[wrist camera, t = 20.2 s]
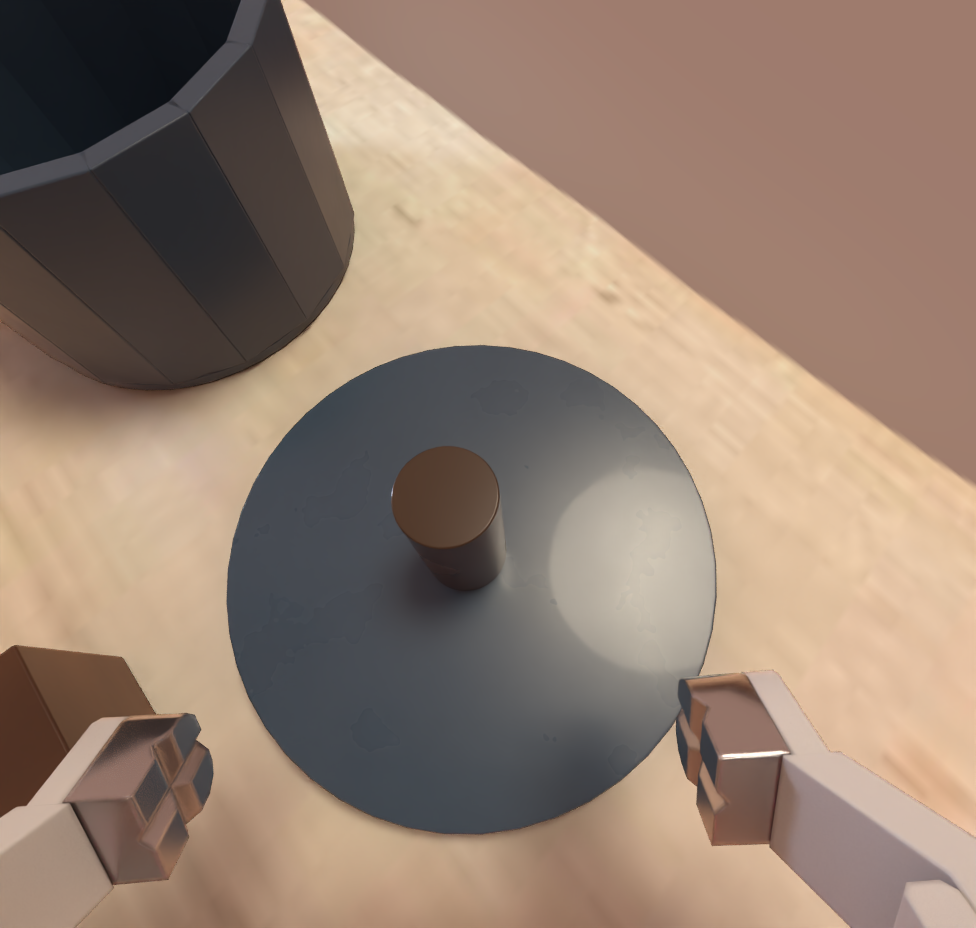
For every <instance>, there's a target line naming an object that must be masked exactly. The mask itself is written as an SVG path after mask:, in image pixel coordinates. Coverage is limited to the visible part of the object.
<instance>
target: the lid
mask: <svg viewBox="0 0 976 928" xmlns="http://www.w3.org/2000/svg"><path fill="white" fill-rule="evenodd" d="M716 597H717V593H716V560H715V554H714V547H713V540H712V534H711V530H710V526H709V523H708V519H707V516H706V512H705V509H704V505H703V502H702V500H701V497H700V495H699V493H698V490H697V488H696V486H695V484H694V481H693V479H692V477H691V475H690V473H689V471H688V469H687V468H686V466H685V464H684V463H683V461H682V459H681V458H680V456H679V454H678V453H677V451H676V449H675V448H674V446H673V445H672V444H671V443H670V441H669V440H668V439H667V437H666V436H665V435H664V434H663V432H662V431H661V430H660V429H659V427H658V426H657V425H656V424H655V423H654V422H653V421H652V420H651V419H650V418H649V417H648V416H647V415H646V414H645V413H644V412H643V411H642V410H641V409H640V408H639V407H638V406H637V405H636V404H635V403H634V402H632V401H631V400H630V399H628V398H627V397H626V396H625V395H623V394H622V393H621V392H619V391H618V390H617V389H616V388H614V387H613V386H611V385H610V384H608V383H606V382H605V381H603V380H601V379H599V378H598V377H596V376H594V375H593V374H591V373H589V372H587V371H585V370H583V369H581V368H578V367H576V366H574V365H572V364H569V363H567V362H565V361H562V360H559V359H556V358H553V357H550V356H547V355H543V354H540V353H537V352H532V351H527V350H521V349H516V348H511V347H499V346H486V345H476V346H453V347H447V348H440V349H433V350H427V351H423V352H419V353H416V354H412V355H408V356H404V357H401V358H398V359H396V360H393V361H390V362H388V363H385V364H383V365H380V366H377V367H375V368H373V369H371V370H369V371H367V372H365V373H363V374H361V375H360V376H358V377H356V378H354V379H352V380H350V381H349V382H347V383H346V384H344V385H343V386H341V387H340V388H338V389H337V390H335V391H334V392H332V393H331V394H329V395H328V396H326V397H325V398H324V399H323V400H322V401H320V402H319V403H318V404H317V405H316V406H315V407H313V408H312V409H311V410H310V411H309V412H307V413H306V414H305V415H304V416H303V417H302V418H301V419H300V421H299V422H298V423H297V424H296V425H295V426H294V427H293V428H292V429H291V430H290V431H289V432H288V433H287V434H286V435H285V437H284V438H283V439H282V441H281V442H280V443H279V445H278V446H277V447H276V449H275V450H274V451H273V453H272V454H271V455H270V457H269V458H268V460H267V461H266V463H265V465H264V467H263V468H262V470H261V472H260V473H259V475H258V477H257V478H256V480H255V482H254V484H253V486H252V488H251V491H250V493H249V495H248V498H247V500H246V502H245V504H244V507H243V509H242V512H241V515H240V518H239V522H238V525H237V528H236V532H235V535H234V538H233V543H232V549H231V555H230V561H229V567H228V579H227V612H228V623H229V634H230V638H231V643H232V647H233V651H234V656H235V660H236V664H237V668H238V670H239V673H240V676H241V678H242V681H243V684H244V686H245V689H246V691H247V694H248V697H249V699H250V700H251V702H252V704H253V706H254V708H255V710H256V711H257V713H258V715H259V717H260V719H261V720H262V722H263V724H264V726H265V727H266V729H267V730H268V731H269V733H270V734H271V735H272V737H273V738H274V739H275V741H276V742H277V743H278V745H279V746H280V747H281V749H282V750H283V751H284V753H285V754H286V755H287V756H288V757H289V758H290V759H291V760H292V761H293V762H294V763H295V764H296V765H297V766H298V767H299V768H300V769H301V770H302V771H303V772H304V773H305V774H306V775H308V776H309V777H310V778H311V779H312V780H313V781H315V782H316V783H317V784H319V785H320V786H322V787H323V788H324V789H326V790H327V791H328V792H330V793H331V794H333V795H334V796H335V797H337V798H338V799H340V800H341V801H343V802H345V803H347V804H349V805H351V806H353V807H355V808H357V809H359V810H361V811H363V812H365V813H367V814H369V815H371V816H373V817H376V818H379V819H382V820H385V821H388V822H391V823H394V824H397V825H400V826H403V827H406V828H411V829H417V830H423V831H429V832H435V833H441V834H488V833H495V832H502V831H509V830H516V829H521V828H524V827H528V826H531V825H534V824H538V823H541V822H544V821H548V820H551V819H554V818H557V817H559V816H561V815H563V814H565V813H567V812H569V811H571V810H574V809H576V808H578V807H580V806H582V805H584V804H586V803H588V802H590V801H592V800H593V799H595V798H596V797H598V796H599V795H600V794H602V793H603V792H605V791H606V790H608V789H609V788H611V787H612V786H614V785H615V784H617V783H618V782H620V781H621V780H622V779H623V778H624V777H625V776H627V775H628V774H629V773H630V772H631V771H632V770H633V769H634V768H635V767H636V766H638V765H639V764H640V763H641V762H642V761H643V760H644V759H645V758H646V757H647V756H648V755H649V754H650V753H651V752H652V750H653V749H654V748H655V747H656V746H657V744H658V743H659V742H660V741H661V739H662V738H663V737H664V736H665V735H666V733H667V732H668V731H669V730H670V728H671V727H672V725H673V724H674V722H675V720H676V716H677V715H678V714H679V713H680V712H681V710H682V707H681V704H680V702H679V699H678V697H677V692H678V683H679V680H680V678H681V677H693V676H699V674H700V671H701V669H702V667H703V664H704V661H705V657H706V653H707V649H708V645H709V642H710V638H711V634H712V630H713V622H714V614H715V606H716Z"/></svg>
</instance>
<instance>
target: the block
mask: <svg viewBox="0 0 976 928" xmlns="http://www.w3.org/2000/svg"><path fill="white" fill-rule="evenodd" d="M135 715H156V714H155V713H154V711H153V709H152V708H151V706H150V704H149V702H148V701H147V699H146V697H145V696H144V694H143V692H142V690H141V689H140V687H139V685H138V683H137V682H136V680H135V678H134V677H133V675H132V673H131V671H130V670H129V668H128V666H127V665H126V663H125V661H124V659H123V658H122V657H117V656H108V655H99V654H90V653H81V652H73V651H64V650H55V649H46V648H37V647H28V646H19V645H14V646H12V647H10V648H9V649H8V650H6V651H5V652H4V653H2V654H1V655H0V818H1V817H2V816H4V815H5V814H7V813H8V812H10V811H11V810H13V809H14V808H16V807H20V806H27V805H28V803H29V802H30V801H31V799H32V798H33V797H34V796H35V794H36V793H37V792H38V791H39V789H40V788H41V787H42V786H43V784H44V783H45V782H46V781H47V779H48V778H49V777H50V776H51V774H52V773H53V772H54V770H55V769H56V768H57V767H58V765H59V764H60V763H61V762H62V760H63V759H64V758H65V757H66V755H67V754H68V753H69V752H70V750H71V749H72V748H73V747H74V745H75V744H76V743H77V741H78V740H79V739H80V738H81V736H82V735H83V734H84V733H85V731H86V730H87V729H88V728H89V726H90V725H91V724H92V723H94V722H95V721H97V720H99V719H101V718H104V717H129V716H135Z"/></svg>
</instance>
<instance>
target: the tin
mask: <svg viewBox="0 0 976 928" xmlns="http://www.w3.org/2000/svg"><path fill="white" fill-rule="evenodd" d="M353 239H354V211H353V208H352V205H351V202H350V199H349V196H348V193H347V190H346V187H345V184H344V181H343V178H342V175H341V172H340V170H339V167H338V164H337V161H336V158H335V155H334V152H333V149H332V147H331V144H330V141H329V138H328V135H327V132H326V129H325V126H324V124H323V121H322V118H321V115H320V112H319V109H318V106H317V104H316V101H315V98H314V95H313V92H312V89H311V86H310V83H309V81H308V78H307V75H306V72H305V69H304V66H303V63H302V60H301V58H300V55H299V52H298V49H297V46H296V43H295V40H294V37H293V35H292V32H291V29H290V26H289V23H288V20H287V17H286V15H285V12H284V9H283V6H282V3H281V0H0V321H2V322H3V323H4V324H6V325H7V326H8V327H10V328H11V329H13V330H14V331H15V332H17V333H18V334H19V335H21V336H22V337H24V338H25V339H26V340H28V341H29V342H30V343H32V344H33V345H35V346H36V347H37V348H39V349H40V350H41V351H43V352H44V353H46V354H47V355H48V356H50V357H51V358H53V359H55V360H57V361H59V362H62V363H64V364H66V365H67V366H69V367H70V368H72V369H74V370H76V371H77V372H79V373H81V374H82V375H84V376H86V377H89V378H91V379H94V380H97V381H99V382H102V383H105V384H109V385H113V386H118V387H122V388H129V389H140V390H168V389H177V388H184V387H190V386H196V385H200V384H203V383H207V382H211V381H215V380H218V379H221V378H224V377H226V376H229V375H232V374H234V373H237V372H240V371H242V370H244V369H246V368H248V367H250V366H252V365H254V364H256V363H258V362H260V361H262V360H264V359H265V358H267V357H268V356H270V355H271V354H273V353H275V352H276V351H278V350H279V349H281V348H282V347H284V346H285V345H286V344H287V343H289V342H290V341H291V340H292V339H294V338H295V337H296V336H297V335H299V334H300V333H301V332H302V331H303V330H304V329H305V328H306V327H307V326H308V325H309V324H310V323H311V322H312V321H313V320H314V319H315V318H316V317H317V316H318V315H319V313H320V312H321V311H322V310H323V308H324V307H325V306H326V305H327V303H328V302H329V301H330V299H331V297H332V296H333V294H334V293H335V291H336V289H337V288H338V286H339V284H340V282H341V280H342V278H343V275H344V273H345V271H346V269H347V266H348V263H349V259H350V256H351V252H352V248H353Z"/></svg>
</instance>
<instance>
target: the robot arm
mask: <svg viewBox="0 0 976 928" xmlns="http://www.w3.org/2000/svg"><path fill="white" fill-rule="evenodd" d="M677 697H678V699H679V702H680V704H681V707H682V709H683V710H682V711H681V712H680V713H679V714H678V715H677V716H676V736H677V743H678V751H679V754H680V758H681V762H682V765H683V768H684V771H685V774H686V777H687V779H688V780H690V781H691V782H692V783H693V784H694V785H696V786H697V803H696V805H697V807H698V810H699V813H700V815H701V818H702V821H703V824H704V826H705V829H706V832H707V834H708V837H709V840H710V842H711V845H712V846H723V845H753V844H770V848H771V849H772V850H773V851H774V852H775V853H776V854H777V855H778V856H779V857H780V858H781V859H782V860H783V861H784V862H785V863H786V864H787V865H788V866H789V867H790V868H791V869H792V870H793V871H794V872H795V873H796V874H797V875H798V876H799V877H800V878H801V879H802V880H803V881H804V882H805V883H806V884H807V885H808V886H809V887H810V888H811V889H812V890H813V891H814V892H815V893H816V894H817V895H818V896H819V897H820V898H821V899H822V900H823V901H825V902H826V903H827V904H828V905H829V906H830V907H831V908H832V909H833V910H834V911H835V912H836V913H837V914H838V915H839V916H840V917H841V918H842V919H843V920H844V921H845V922H846V923H847V924H848V925H849V926H850V927H851V928H976V837H974V836H972V835H971V834H969V833H968V832H966V831H965V830H963V829H961V828H960V827H958V826H957V825H955V824H954V823H952V822H950V821H949V820H947V819H946V818H944V817H943V816H941V815H939V814H938V813H936V812H935V811H933V810H932V809H930V808H928V807H927V806H925V805H924V804H922V803H921V802H919V801H917V800H916V799H914V798H913V797H911V796H910V795H908V794H906V793H905V792H903V791H902V790H900V789H899V788H897V787H895V786H894V785H892V784H891V783H889V782H888V781H886V780H884V779H883V778H881V777H880V776H878V775H877V774H875V773H873V772H872V771H870V770H869V769H867V768H866V767H864V766H862V765H861V764H859V763H858V762H856V761H855V760H853V759H851V758H850V757H848V756H847V755H845V754H844V753H842V752H830V750H829V749H828V747H827V746H826V744H825V743H824V741H823V740H822V738H821V737H820V735H819V734H818V732H817V731H816V729H815V728H814V726H813V725H812V723H811V722H810V720H809V719H808V717H807V716H806V714H805V713H804V711H803V710H802V708H801V706H800V705H799V703H798V702H797V700H796V699H795V697H794V696H793V694H792V693H791V691H790V690H789V688H788V687H787V685H786V684H785V682H784V681H783V679H782V678H781V676H780V675H779V674H778V673H777V672H775V671H774V670H764V671H752V672H742V673H730V674H718V675H706V676H693V677H681V678H680V680H679V683H678V692H677ZM200 731H201V728H200V726H199V723H198V721H197V719H196V716H195V715H193V714H188V713H179V714H157V715H135V716H129V717H104V718H101V719H99V720H97V721H95V722H94V723H92V724H91V725H90V726H89V728H88V729H87V730H86V731H85V733H84V734H83V735H82V736H81V738H80V739H79V740H78V741H77V743H76V744H75V745H74V747H73V748H72V749H71V750H70V752H69V753H68V754H67V755H66V757H65V758H64V759H63V760H62V762H61V763H60V764H59V765H58V767H57V768H56V769H55V770H54V772H53V773H52V774H51V776H50V777H49V778H48V779H47V781H46V782H45V783H44V784H43V786H42V787H41V788H40V789H39V791H38V792H37V793H36V794H35V796H34V797H33V798H32V799H31V801H30V802H29V803H28V805H27V806H20V807H16V808H14V809H13V810H11V811H10V812H8V813H7V814H5V815H4V816H2V817H1V818H0V928H75V927H76V926H77V925H78V924H79V923H80V922H81V921H82V920H83V919H84V918H85V917H86V916H87V915H88V914H89V913H90V912H91V911H92V910H93V909H94V908H95V907H96V906H97V905H98V904H99V903H100V902H101V901H102V900H103V899H104V898H105V897H106V896H107V895H108V894H109V893H110V892H111V891H112V890H113V888H114V886H113V885H118V884H129V883H140V882H150V881H161V880H169V877H170V875H171V873H172V871H173V869H174V867H175V865H176V863H177V861H178V859H179V857H180V855H181V853H182V851H183V849H184V847H185V845H186V843H187V841H188V838H189V835H188V830H187V826H186V824H187V823H188V822H189V821H191V820H192V819H193V818H194V817H195V816H196V815H197V814H199V813H200V812H201V811H202V809H203V807H204V805H205V803H206V801H207V798H208V796H209V794H210V790H211V785H212V779H213V761H212V758H211V755H210V752H209V749H208V748H206V747H205V746H204V745H202V744H201V743H200V742H198V741H197V740H196V739H197V737H198V735H199V733H200Z"/></svg>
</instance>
